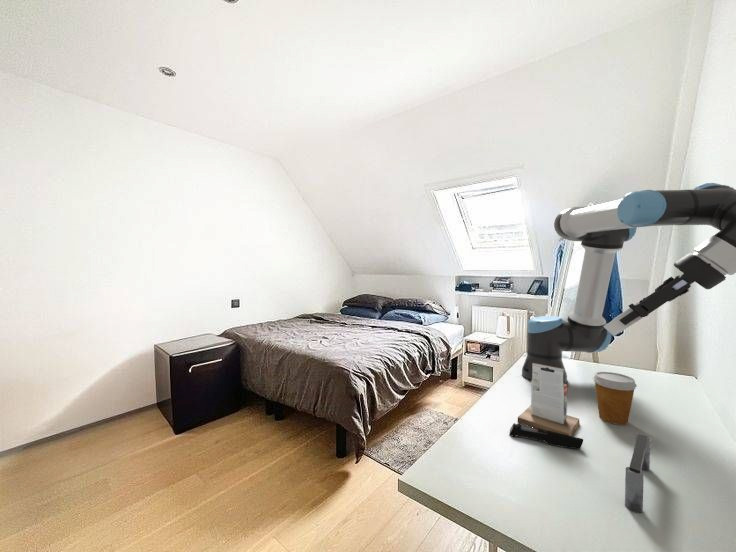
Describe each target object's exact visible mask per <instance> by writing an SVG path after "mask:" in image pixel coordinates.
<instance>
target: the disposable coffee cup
mask: <svg viewBox="0 0 736 552" xmlns="http://www.w3.org/2000/svg"><path fill="white" fill-rule="evenodd" d="M592 379H593V381H594V385H595V393H596V400H597V408H598V416H599V418H600V419H601V420H603V421H604V422H607V423H610V424H614V425H617V426H618V425H619V426H620V425H621V426H623V425H624V426H625V425H628V424H629V419H630V414H631V409H632V404H633V399H634V398H633V397H634V392H635V390H636V388H637V384H636V381H635V379H634V378H633V377H631V376H628V375H625V374H622V373H618V372H612V371H597V372H595V373H594V376H592Z"/></svg>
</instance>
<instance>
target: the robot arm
mask: <svg viewBox="0 0 736 552" xmlns="http://www.w3.org/2000/svg"><path fill="white" fill-rule="evenodd" d="M653 226H654V227H655V226H660V227H661V226H711V227H713V228H714V229H716V230H718V232H716V233H715V234H714V235H712V236H710V237H708V239H705V240H704V241H703V242H702V243H700V244H699V245H698V246H696V247H695V248H693V251H694V252H693V253H692V252H690V253H689V252H688V253H687V254H685V255H684V256H682V257H680V258H679V259H678V260H677V261H675V262H674V263H673V266H674V267H675V268H676V269H677V270H679V271H680V272H681V273H682V274H681V275H676V276H675V278H674V277H672V276H670V277H668V278H667V279H665V280H664V281H663V282H662V284H660V285H658V286H657V287H656V288H655V289H654V292H652V293H651V294H648V295H647V296H646V297H643V298H642V299H641V300H639V302H636V303H630V304H629V305H628V307H629V308H627V309H626V310H625V311H623V312H621V313H620V314H618V315H617V316H615V317H614V318H613V319H612V320H611V321H610V322H608V323H607V320H606V319H605V318H604V316H603V313H604V309H605V303H606V299H607V294H608V290H609V285H610V280H611V276H612V271H613V268H614V267H613V266H614V262H615V258H616V257H615V256H616V253H617V252H619V251H620V250H622V249H623V247H624V243H625V242H628V241H630V240H631V239H633V237H634V236H635V235H636V233H637V228H645V227H653ZM553 227H554V230H555V233H556V234H557V235H558V236H559V237H560V238H562V239H565V240H566V241H570V242H581V243H580V245H581V247H582V248H583V249H584V254H583V260H582V265H581V270H580V276H579V282H578V287H577V292H576V298H575V303H574V309H573V310H572V311H571V312H569V313H568V316H567V319H566V320H564V319H563V318H562V317H560V316H556V315H550V316H549V315H542V316H540V315H539V316H534V317H532V318H530V319H529V320H528V322H527V329H526V332H527V342H526V343H527V345H526V346H527V347H526V348H527V349H526V351H527V352H526V353H527V354H526V357H525V360H524V362H523V365H522V368H521V375H522V376H523V377H524V378H525V377H526V378H525V379H527V380H529V379H530V380H529V381H532V365H533V364H532V363H536V364H541V365H547V366H552V367H557V368H562V369H564V380H563V381H564V382H563V383H564V384H567V382H568V374H567V371H566V368H565V365H564V362H563V352H570V353H572V352H573V353H575V352H576V353H589V354H591V353H601V352H603V351H605V350H606V349H607V348H608V347H609V345H610V344H611V341H612V337H615V336H616V335H618V334H620V333H622V332H623V331H624V330H626V329H627V328H630V327H631V326H632V325H634V324H635V323H637V322H639V321H640V320H642V319H643V318H646V317H648V316H649V314H651V313H652V312H654V311H655V310H657V309H658V308H660V307H662V306H663V305H665V304H666V303H667V302H672V301H673V300H675V299H677V298H678V297H680V296H683V295H685V294H686V293H688V292H689V291H690V290H689V289H690V288H691V287H692V284H693V283H696V284H697V285H700V287H702V288H703V289H704V290H711V289H713V288H715V287H717V286H718V285H719V284H721V283H722V282H724V281H726V278H727V276H726V275H729V276H733V275H735V274H736V189H735V188H734V187H731V186H729V185H725V184H721V183H720V184H719V183H715V182H706V183H702V184H701V185H699V186H695V187H693V188H692V189H670V190H669V189H668V190H665V189H663V190H659V189H658V190H653V189H646V190H636V191H635V190H634V191H631V192H628V193H626V194H625V195H624V196H623V197H622V198H619V199H616V200H611V201H608V202H607V201H606V202H603V203H599V204H595V205H591V206H573V207H569V208H566V209H564V210H562V211H560V212H558V214H557V215H556V217H555V219H554V223H553ZM541 370H544V371H548V372H555V371H554V370H552V369H549V368H541Z"/></svg>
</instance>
